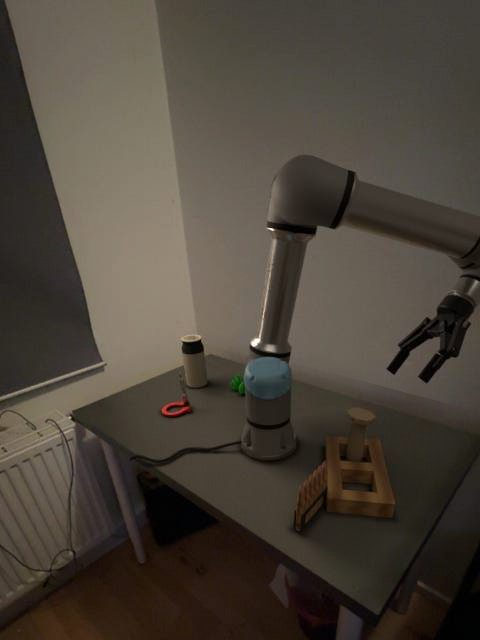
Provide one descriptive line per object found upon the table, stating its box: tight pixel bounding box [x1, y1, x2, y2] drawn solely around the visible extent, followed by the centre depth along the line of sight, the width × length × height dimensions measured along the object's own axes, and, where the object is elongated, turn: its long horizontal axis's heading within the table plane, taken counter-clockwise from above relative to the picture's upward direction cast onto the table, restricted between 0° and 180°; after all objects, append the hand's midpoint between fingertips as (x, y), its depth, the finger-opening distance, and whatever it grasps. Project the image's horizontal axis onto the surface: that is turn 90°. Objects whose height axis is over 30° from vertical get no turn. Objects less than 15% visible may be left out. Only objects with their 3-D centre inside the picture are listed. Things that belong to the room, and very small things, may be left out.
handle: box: [345, 406, 376, 462], centre depth 83 cm, size 5×6×15 cm
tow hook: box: [161, 371, 192, 418], centre depth 113 cm, size 8×13×9 cm
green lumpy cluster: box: [229, 374, 245, 396], centre depth 126 cm, size 15×15×7 cm
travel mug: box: [180, 334, 208, 388], centre depth 128 cm, size 8×8×18 cm
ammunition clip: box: [292, 460, 328, 535], centre depth 71 cm, size 11×2×12 cm, turn 140°
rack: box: [324, 435, 396, 519], centre depth 82 cm, size 13×23×4 cm, turn 169°
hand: (405, 375), depth 88 cm, fingers open, 13 cm apart
